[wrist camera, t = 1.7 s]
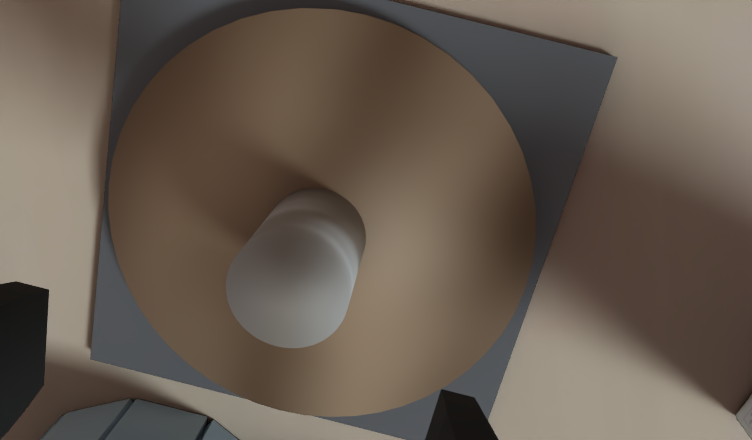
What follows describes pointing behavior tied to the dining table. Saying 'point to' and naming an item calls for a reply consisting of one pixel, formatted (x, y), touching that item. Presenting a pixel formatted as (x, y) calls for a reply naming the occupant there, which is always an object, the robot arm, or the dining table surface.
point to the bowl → (135, 424)
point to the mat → (468, 47)
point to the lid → (322, 212)
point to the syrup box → (746, 416)
